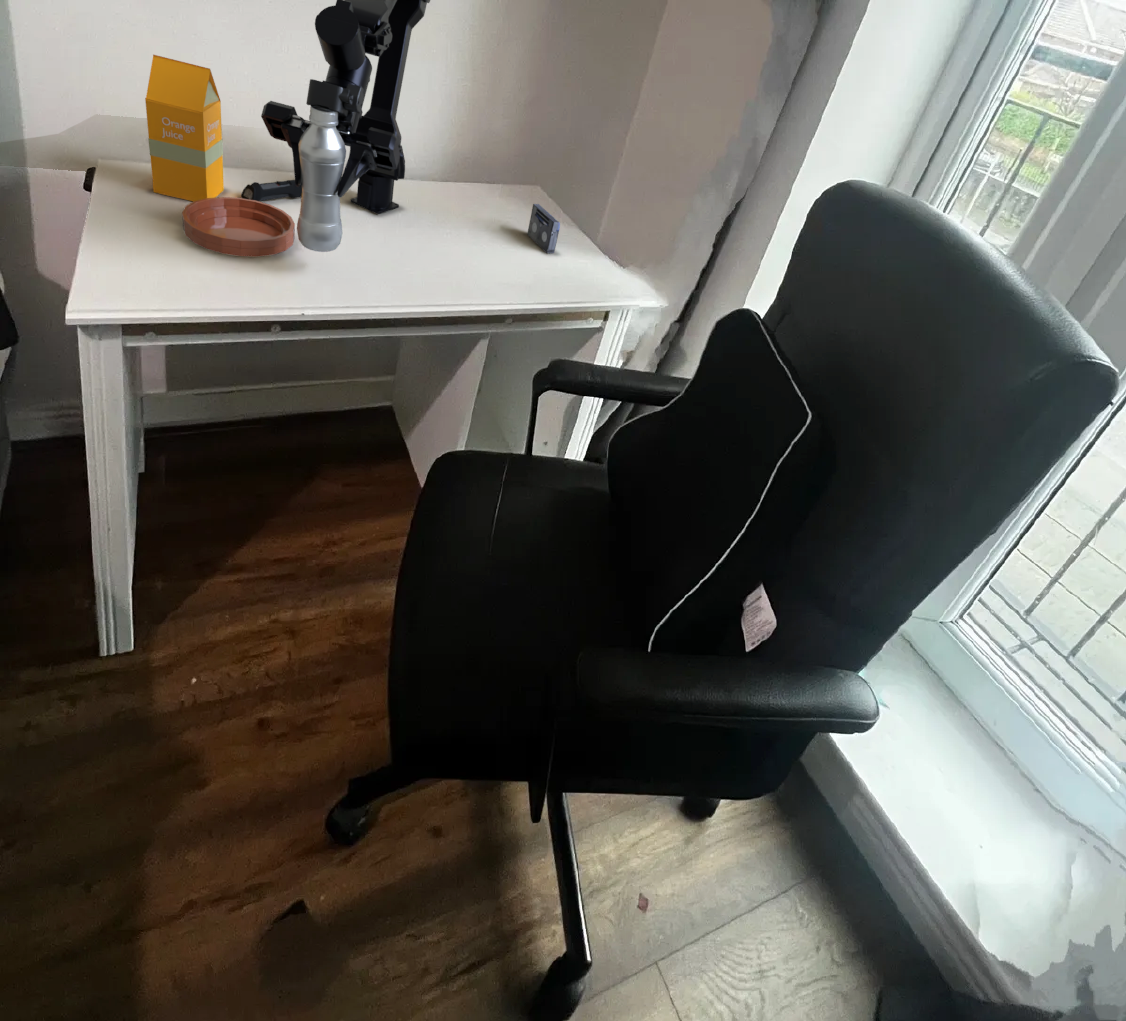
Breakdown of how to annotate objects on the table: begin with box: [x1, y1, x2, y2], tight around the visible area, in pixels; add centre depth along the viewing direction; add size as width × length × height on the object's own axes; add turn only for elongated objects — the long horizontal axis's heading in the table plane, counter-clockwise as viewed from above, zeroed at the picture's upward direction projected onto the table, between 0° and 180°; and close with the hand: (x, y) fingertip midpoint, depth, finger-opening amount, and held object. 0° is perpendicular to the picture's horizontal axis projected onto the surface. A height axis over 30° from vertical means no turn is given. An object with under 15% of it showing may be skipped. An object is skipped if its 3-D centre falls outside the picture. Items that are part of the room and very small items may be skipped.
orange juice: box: [144, 54, 225, 202], centre depth 132 cm, size 8×9×20 cm
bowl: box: [181, 196, 296, 258], centre depth 128 cm, size 16×16×3 cm
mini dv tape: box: [526, 203, 561, 254], centre depth 153 cm, size 8×2×6 cm, turn 31°
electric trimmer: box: [240, 179, 302, 202], centre depth 144 cm, size 4×16×3 cm, turn 140°
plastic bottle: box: [296, 105, 347, 253], centre depth 117 cm, size 6×7×20 cm
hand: (318, 190), depth 117 cm, fingers closed on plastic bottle, 6 cm apart
